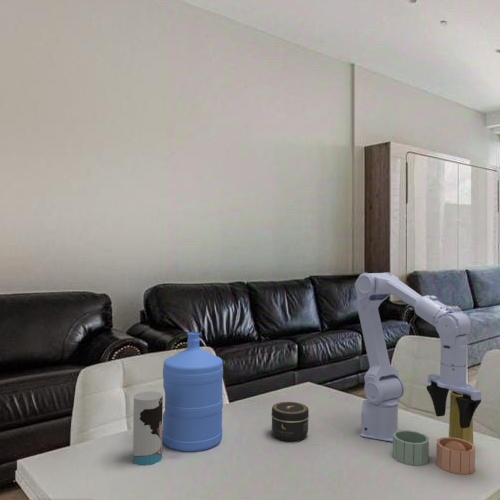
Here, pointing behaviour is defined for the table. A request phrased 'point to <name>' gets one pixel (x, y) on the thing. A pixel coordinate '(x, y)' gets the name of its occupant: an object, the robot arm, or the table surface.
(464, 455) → the salmon slatted bowl
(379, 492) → the table surface
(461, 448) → the ball
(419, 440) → the green faceted bowl
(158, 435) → the white printed cylinder
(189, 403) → the water jug
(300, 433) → the jar
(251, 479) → the table surface
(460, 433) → the vase
